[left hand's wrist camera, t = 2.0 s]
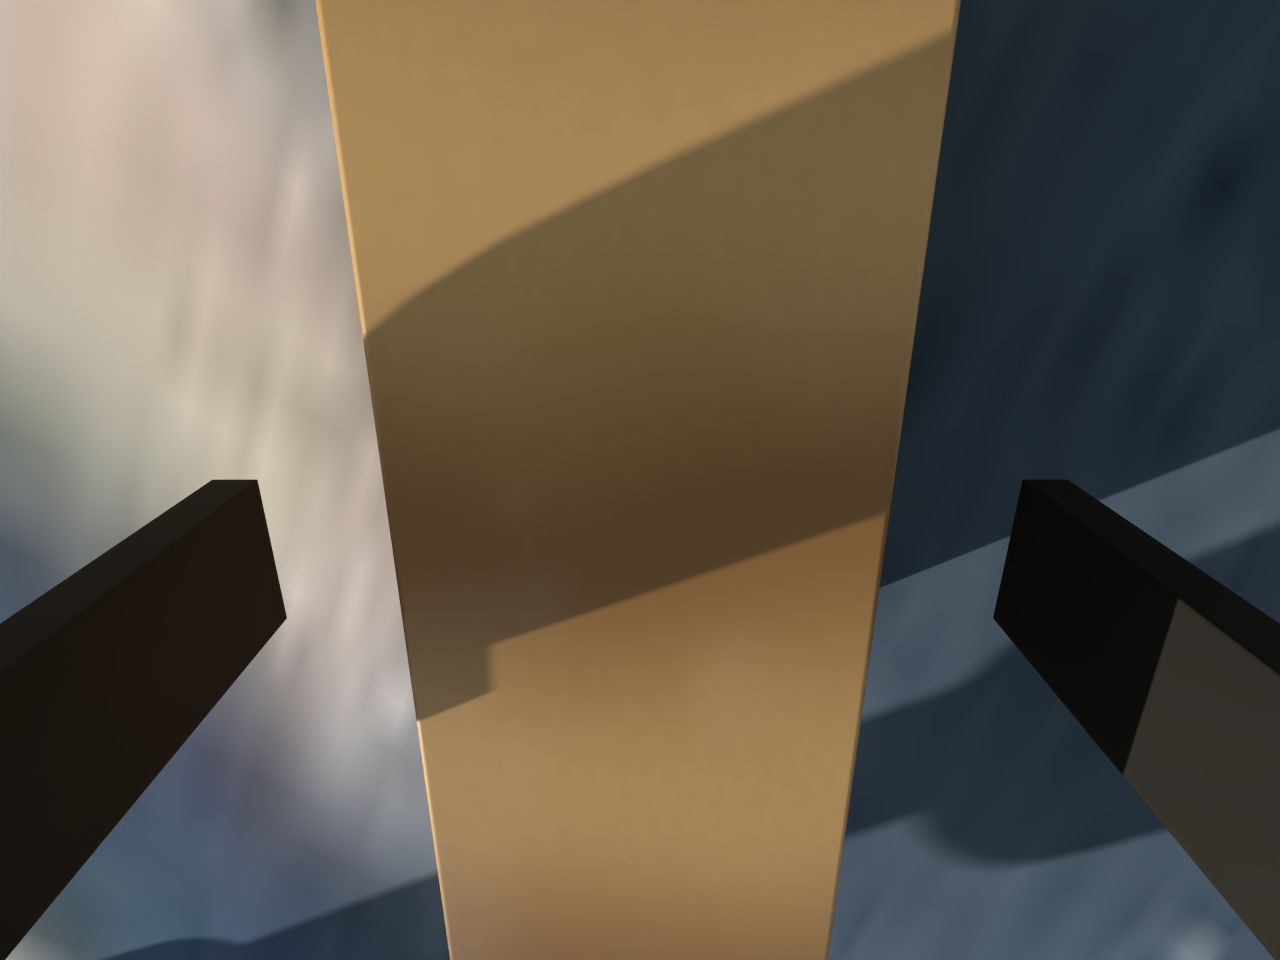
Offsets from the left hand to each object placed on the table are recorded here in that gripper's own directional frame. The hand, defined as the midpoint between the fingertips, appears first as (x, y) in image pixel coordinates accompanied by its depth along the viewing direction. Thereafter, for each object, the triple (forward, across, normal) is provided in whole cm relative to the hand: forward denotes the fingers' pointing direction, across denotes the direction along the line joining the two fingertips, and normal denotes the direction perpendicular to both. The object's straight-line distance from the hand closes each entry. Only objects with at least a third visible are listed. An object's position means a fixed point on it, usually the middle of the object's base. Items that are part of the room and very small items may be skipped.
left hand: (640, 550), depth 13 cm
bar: (+3, 0, -9) cm, 9 cm away
